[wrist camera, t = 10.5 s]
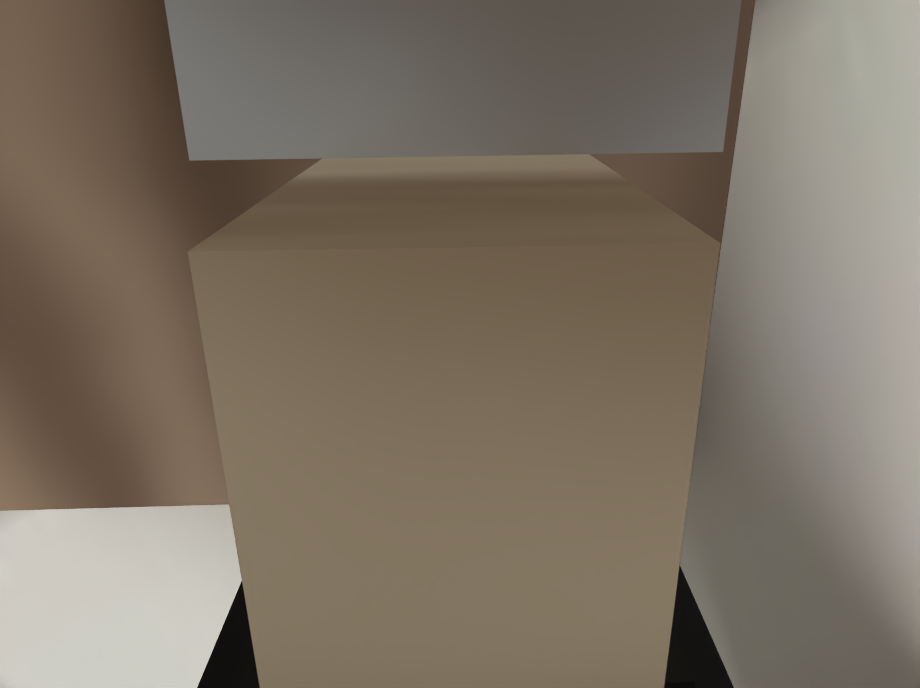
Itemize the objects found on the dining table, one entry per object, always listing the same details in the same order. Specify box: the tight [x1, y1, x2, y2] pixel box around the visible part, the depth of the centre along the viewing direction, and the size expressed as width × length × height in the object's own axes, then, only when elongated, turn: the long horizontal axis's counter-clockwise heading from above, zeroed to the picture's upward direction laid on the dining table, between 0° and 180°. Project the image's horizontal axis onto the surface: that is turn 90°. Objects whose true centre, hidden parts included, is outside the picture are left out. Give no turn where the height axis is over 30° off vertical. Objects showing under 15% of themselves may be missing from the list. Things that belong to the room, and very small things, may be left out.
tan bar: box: [164, 0, 742, 688], centre depth 7 cm, size 18×6×5 cm, turn 1°
